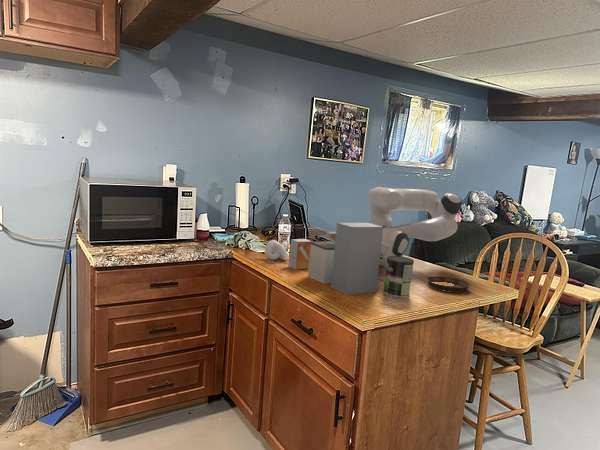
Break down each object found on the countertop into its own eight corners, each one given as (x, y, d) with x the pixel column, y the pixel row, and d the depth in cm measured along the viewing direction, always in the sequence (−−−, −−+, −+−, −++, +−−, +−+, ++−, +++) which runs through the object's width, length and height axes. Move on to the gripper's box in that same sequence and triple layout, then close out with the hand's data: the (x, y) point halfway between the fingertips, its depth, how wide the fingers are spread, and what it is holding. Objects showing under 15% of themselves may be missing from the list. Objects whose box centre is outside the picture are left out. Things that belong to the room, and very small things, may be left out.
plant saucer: (417, 282, 187) (418, 276, 187) (449, 281, 194) (450, 275, 193) (444, 295, 171) (445, 287, 170) (478, 293, 177) (479, 286, 177)
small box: (295, 269, 192) (297, 241, 190) (288, 266, 197) (290, 239, 195) (310, 268, 196) (312, 241, 194) (302, 265, 201) (304, 238, 200)
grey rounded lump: (272, 255, 219) (274, 238, 217) (293, 258, 214) (295, 241, 212) (261, 258, 208) (263, 240, 207) (283, 262, 203) (284, 244, 202)
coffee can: (387, 297, 161) (391, 261, 159) (380, 289, 171) (383, 255, 169) (413, 298, 162) (418, 262, 160) (404, 290, 172) (408, 256, 170)
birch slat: (361, 237, 189) (361, 231, 188) (366, 239, 186) (366, 232, 185) (325, 239, 179) (326, 232, 179) (330, 240, 176) (331, 233, 176)
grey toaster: (342, 273, 192) (345, 240, 190) (358, 280, 182) (361, 246, 179) (308, 275, 183) (311, 241, 181) (323, 283, 173) (326, 247, 170)
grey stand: (360, 284, 176) (367, 222, 172) (376, 291, 168) (383, 226, 164) (331, 287, 169) (336, 222, 165) (345, 294, 160) (352, 227, 156)
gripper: (365, 238, 201) (346, 224, 194) (394, 247, 183) (374, 232, 176) (358, 250, 200) (339, 236, 193) (387, 260, 183) (367, 245, 176)
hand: (356, 234), depth 185 cm, fingers closed on birch slat, 3 cm apart
